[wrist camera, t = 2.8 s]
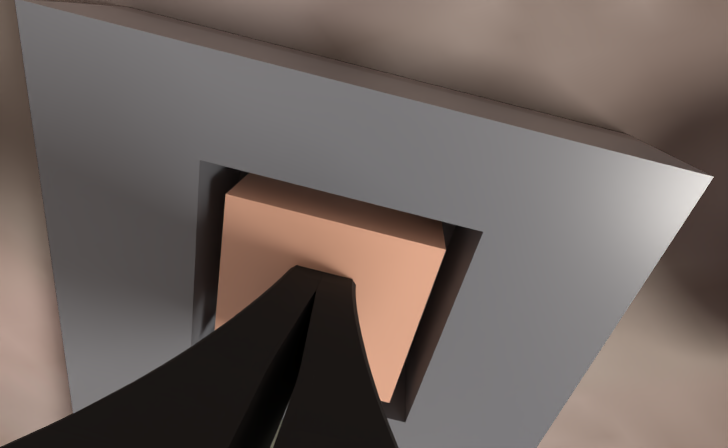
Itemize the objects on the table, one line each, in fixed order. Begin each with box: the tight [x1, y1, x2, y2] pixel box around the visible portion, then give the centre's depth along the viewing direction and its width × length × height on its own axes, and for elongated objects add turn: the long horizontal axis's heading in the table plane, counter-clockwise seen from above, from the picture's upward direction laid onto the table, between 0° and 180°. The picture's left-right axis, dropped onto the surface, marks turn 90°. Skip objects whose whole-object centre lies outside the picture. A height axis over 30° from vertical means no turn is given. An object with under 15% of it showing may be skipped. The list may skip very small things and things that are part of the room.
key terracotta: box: [215, 173, 446, 403], centre depth 10 cm, size 4×4×2 cm
